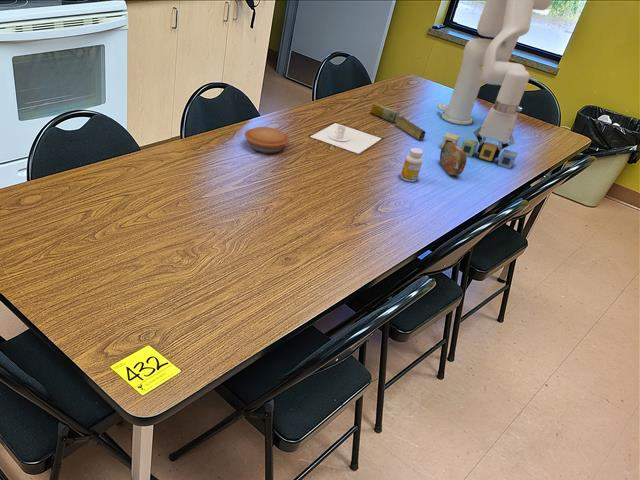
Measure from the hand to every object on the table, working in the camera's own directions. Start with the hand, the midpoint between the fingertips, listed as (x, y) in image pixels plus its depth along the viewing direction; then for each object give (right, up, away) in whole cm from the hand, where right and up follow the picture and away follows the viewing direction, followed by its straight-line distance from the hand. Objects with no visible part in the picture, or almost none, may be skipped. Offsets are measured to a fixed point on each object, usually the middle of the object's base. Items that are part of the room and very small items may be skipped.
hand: (486, 156), depth 207 cm
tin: (-17, -7, -10) cm, 21 cm away
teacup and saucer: (-50, +8, +4) cm, 51 cm away
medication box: (-31, +22, +25) cm, 45 cm away
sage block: (-6, +2, +3) cm, 7 cm away
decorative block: (-24, +13, +14) cm, 31 cm away
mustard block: (0, 0, 0) cm, 0 cm away
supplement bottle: (-34, -12, -19) cm, 41 cm away
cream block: (-12, +5, +6) cm, 14 cm away
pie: (-81, +1, -9) cm, 81 cm away
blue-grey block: (+6, -4, -2) cm, 7 cm away
